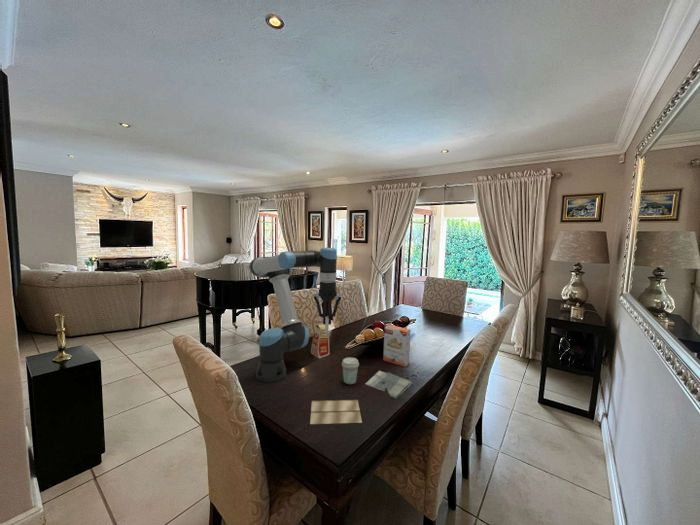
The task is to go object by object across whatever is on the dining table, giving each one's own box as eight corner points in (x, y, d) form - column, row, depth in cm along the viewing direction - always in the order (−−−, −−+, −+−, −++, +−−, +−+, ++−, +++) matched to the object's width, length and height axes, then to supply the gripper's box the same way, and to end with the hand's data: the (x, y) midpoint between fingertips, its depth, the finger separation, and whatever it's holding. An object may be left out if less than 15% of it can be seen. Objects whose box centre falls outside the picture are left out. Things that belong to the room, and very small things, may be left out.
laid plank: (309, 427, 110) (310, 423, 110) (310, 415, 118) (310, 411, 117) (361, 426, 112) (362, 422, 112) (359, 414, 119) (359, 410, 119)
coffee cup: (345, 389, 138) (345, 365, 136) (338, 381, 145) (339, 358, 144) (361, 386, 141) (362, 362, 140) (354, 378, 149) (354, 355, 148)
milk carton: (318, 358, 171) (319, 325, 169) (310, 353, 178) (310, 321, 176) (330, 354, 177) (331, 322, 175) (322, 349, 184) (322, 319, 182)
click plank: (310, 414, 118) (310, 411, 118) (311, 404, 125) (311, 400, 125) (359, 413, 120) (359, 410, 119) (357, 403, 127) (357, 399, 127)
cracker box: (382, 361, 170) (384, 326, 168) (387, 357, 175) (389, 324, 173) (404, 367, 162) (406, 331, 160) (409, 364, 167) (410, 329, 165)
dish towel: (396, 401, 130) (396, 394, 130) (363, 388, 141) (363, 381, 140) (412, 384, 145) (413, 378, 145) (381, 373, 156) (381, 368, 155)
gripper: (313, 282, 129) (312, 333, 131) (342, 282, 130) (341, 333, 132) (313, 279, 136) (313, 328, 138) (341, 280, 137) (340, 328, 140)
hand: (326, 330), depth 135 cm, fingers closed
